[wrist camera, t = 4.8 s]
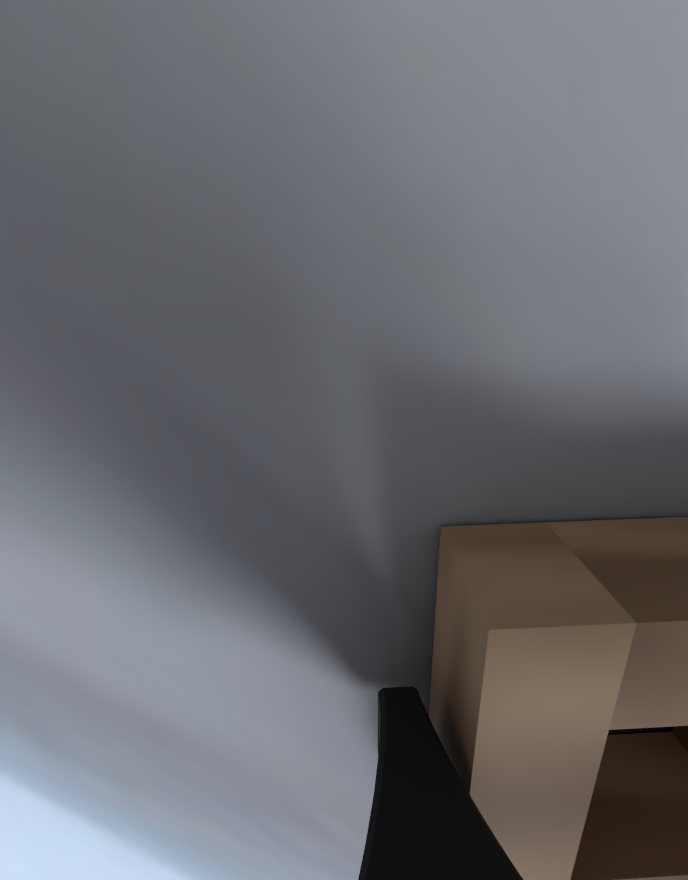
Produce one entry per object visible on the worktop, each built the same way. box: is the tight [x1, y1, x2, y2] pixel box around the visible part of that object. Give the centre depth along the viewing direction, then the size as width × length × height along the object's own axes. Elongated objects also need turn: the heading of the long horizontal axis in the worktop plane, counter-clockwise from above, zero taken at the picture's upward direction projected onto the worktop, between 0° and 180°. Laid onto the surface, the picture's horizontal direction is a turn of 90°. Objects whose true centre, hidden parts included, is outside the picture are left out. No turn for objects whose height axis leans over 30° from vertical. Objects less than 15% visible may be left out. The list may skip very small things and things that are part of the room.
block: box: [429, 517, 688, 880], centre depth 10 cm, size 9×9×3 cm
